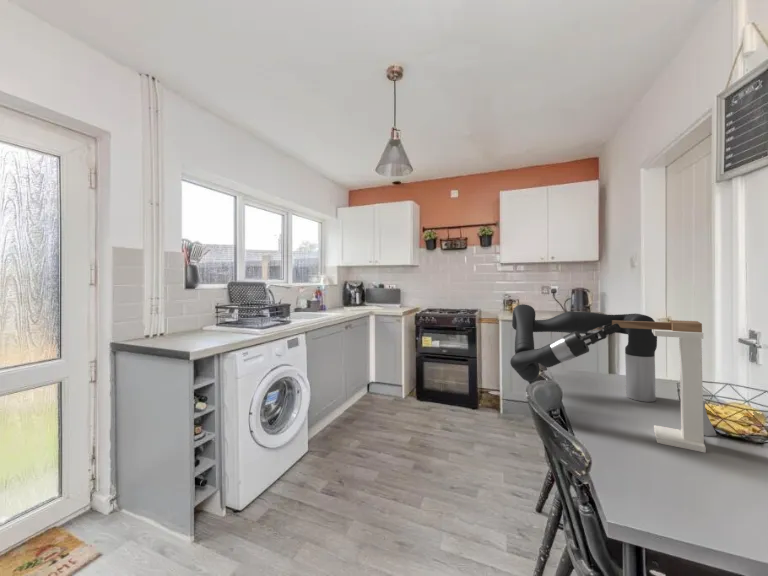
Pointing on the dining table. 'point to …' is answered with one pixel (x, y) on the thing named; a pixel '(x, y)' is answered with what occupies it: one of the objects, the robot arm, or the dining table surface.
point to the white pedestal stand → (687, 394)
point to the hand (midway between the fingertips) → (619, 324)
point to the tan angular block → (662, 325)
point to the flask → (707, 423)
